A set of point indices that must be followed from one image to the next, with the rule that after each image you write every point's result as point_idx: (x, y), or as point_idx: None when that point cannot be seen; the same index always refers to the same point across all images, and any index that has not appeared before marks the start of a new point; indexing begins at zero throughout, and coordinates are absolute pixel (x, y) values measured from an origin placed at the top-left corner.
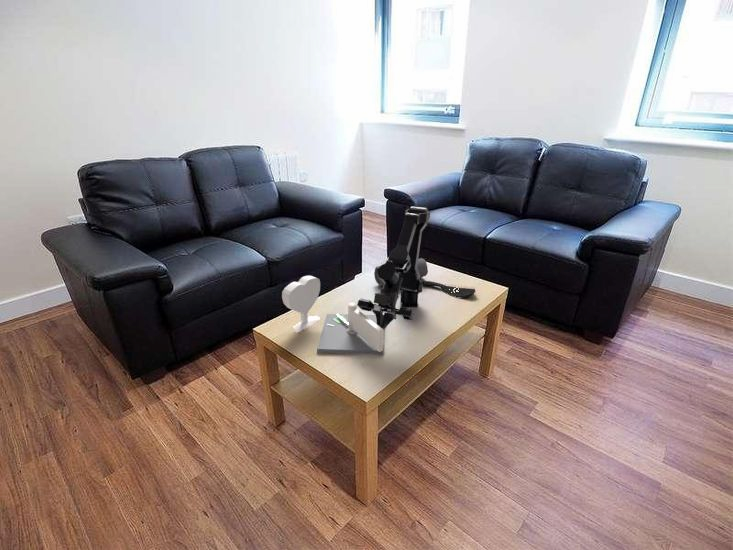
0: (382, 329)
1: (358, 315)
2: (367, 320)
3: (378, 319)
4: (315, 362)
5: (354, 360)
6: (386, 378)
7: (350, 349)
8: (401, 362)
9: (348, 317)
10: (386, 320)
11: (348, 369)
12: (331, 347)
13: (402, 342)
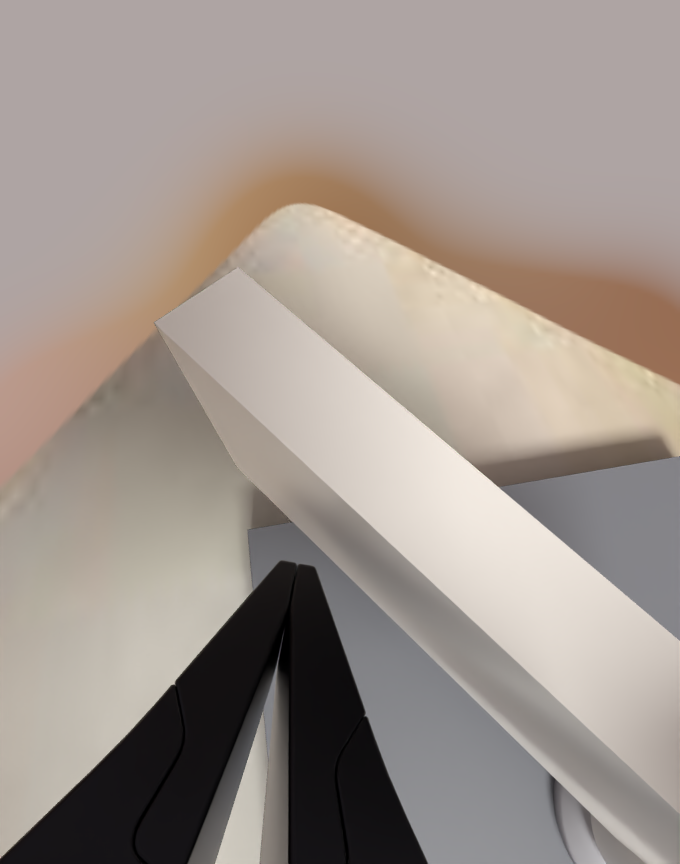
0: (178, 322)
1: None
2: (613, 623)
3: (350, 831)
4: (627, 377)
5: (434, 429)
6: None
7: (504, 491)
8: (102, 467)
9: None
10: (57, 821)
11: (438, 350)
12: (636, 486)
13: (66, 791)
